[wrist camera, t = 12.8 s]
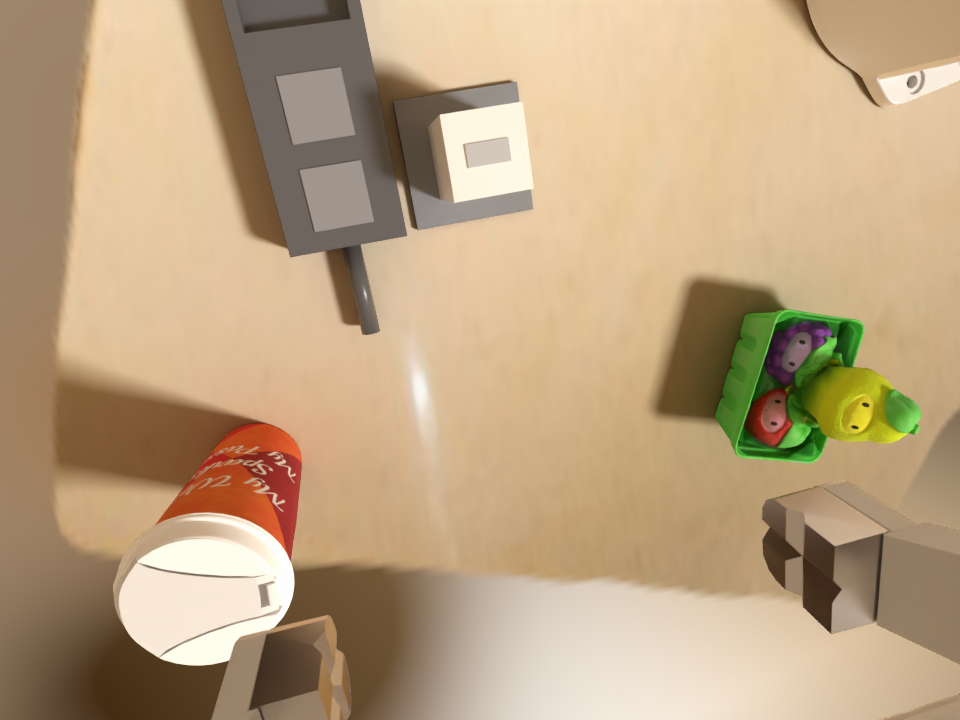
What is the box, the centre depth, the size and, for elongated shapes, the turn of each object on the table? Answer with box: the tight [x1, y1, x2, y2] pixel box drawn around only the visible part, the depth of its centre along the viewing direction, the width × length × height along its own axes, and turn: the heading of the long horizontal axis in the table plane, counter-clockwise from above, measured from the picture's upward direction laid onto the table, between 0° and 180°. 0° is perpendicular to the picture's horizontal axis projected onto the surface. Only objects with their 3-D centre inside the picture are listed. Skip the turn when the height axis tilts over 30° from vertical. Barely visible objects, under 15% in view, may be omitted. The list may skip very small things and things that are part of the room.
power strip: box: [221, 0, 407, 335], centre depth 34 cm, size 7×26×4 cm, turn 9°
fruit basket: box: [715, 310, 921, 463], centre depth 41 cm, size 11×9×11 cm
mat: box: [393, 82, 533, 230], centre depth 37 cm, size 8×8×1 cm
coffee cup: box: [113, 423, 302, 665], centre depth 34 cm, size 8×8×15 cm
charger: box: [427, 101, 534, 203], centre depth 34 cm, size 4×4×7 cm
